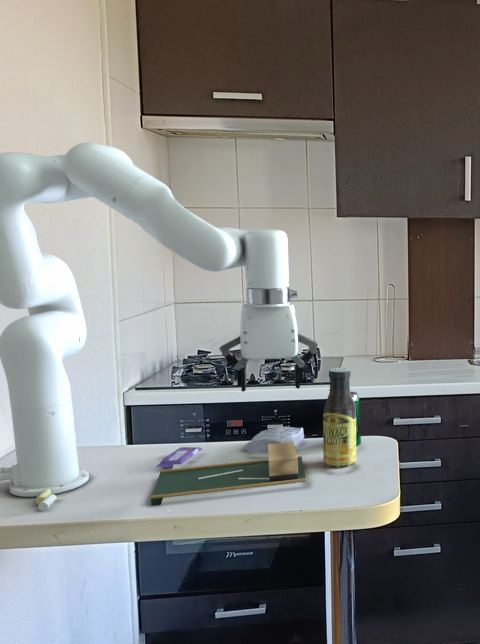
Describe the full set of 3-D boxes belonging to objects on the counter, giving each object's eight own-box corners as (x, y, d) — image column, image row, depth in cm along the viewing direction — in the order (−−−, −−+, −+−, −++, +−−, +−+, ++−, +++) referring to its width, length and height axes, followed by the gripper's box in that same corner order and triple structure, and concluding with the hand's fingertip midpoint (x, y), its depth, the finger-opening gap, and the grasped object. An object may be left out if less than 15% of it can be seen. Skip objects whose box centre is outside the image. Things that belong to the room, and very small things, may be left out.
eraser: (269, 481, 136) (268, 460, 135) (268, 463, 146) (267, 443, 145) (298, 478, 137) (297, 457, 137) (295, 461, 147) (294, 441, 147)
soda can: (335, 453, 156) (332, 397, 154) (338, 445, 161) (336, 391, 159) (359, 452, 156) (357, 396, 154) (362, 445, 161) (360, 390, 159)
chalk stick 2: (39, 501, 126) (49, 504, 127) (48, 492, 130) (57, 495, 130) (36, 509, 126) (46, 512, 127) (45, 500, 130) (54, 503, 130)
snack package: (179, 462, 145) (154, 462, 145) (180, 471, 145) (155, 471, 145) (205, 443, 156) (182, 443, 156) (206, 452, 156) (183, 452, 157)
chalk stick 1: (36, 496, 129) (46, 497, 129) (43, 487, 132) (52, 489, 133) (34, 504, 129) (43, 505, 129) (41, 495, 133) (50, 497, 133)
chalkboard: (151, 505, 128) (150, 496, 128) (160, 478, 142) (159, 470, 141) (307, 487, 136) (306, 479, 136) (302, 463, 149) (301, 455, 149)
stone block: (245, 466, 153) (292, 457, 152) (239, 444, 152) (286, 434, 152) (264, 450, 165) (308, 441, 164) (259, 429, 164) (303, 420, 163)
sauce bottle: (318, 473, 144) (313, 371, 141) (332, 462, 150) (328, 365, 147) (349, 475, 142) (345, 373, 139) (363, 464, 148) (359, 366, 145)
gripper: (315, 294, 143) (316, 381, 146) (218, 295, 138) (222, 386, 140) (318, 298, 136) (320, 390, 139) (216, 300, 131) (220, 395, 133)
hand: (270, 388), depth 140 cm, fingers open, 9 cm apart
